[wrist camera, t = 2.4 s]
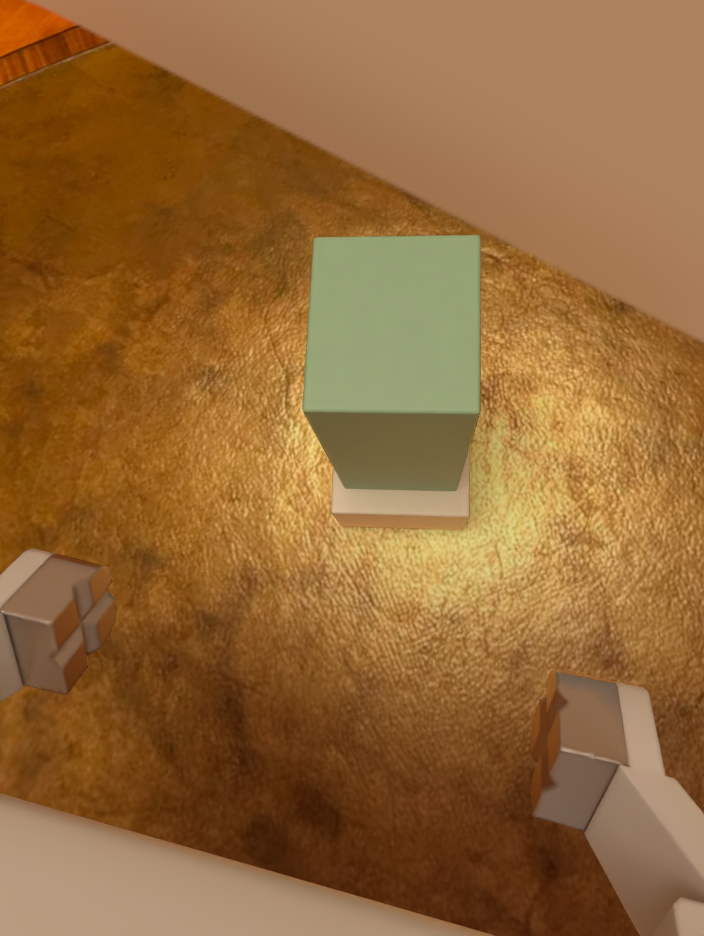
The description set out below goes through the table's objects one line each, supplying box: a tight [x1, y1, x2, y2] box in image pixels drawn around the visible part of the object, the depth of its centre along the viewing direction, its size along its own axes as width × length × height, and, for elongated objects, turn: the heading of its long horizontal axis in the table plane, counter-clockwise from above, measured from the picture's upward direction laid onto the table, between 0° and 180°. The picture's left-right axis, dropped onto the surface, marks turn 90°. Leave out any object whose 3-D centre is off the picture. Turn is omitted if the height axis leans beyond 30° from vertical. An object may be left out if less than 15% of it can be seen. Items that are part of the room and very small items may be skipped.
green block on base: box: [302, 235, 481, 530], centre depth 19 cm, size 4×6×11 cm
